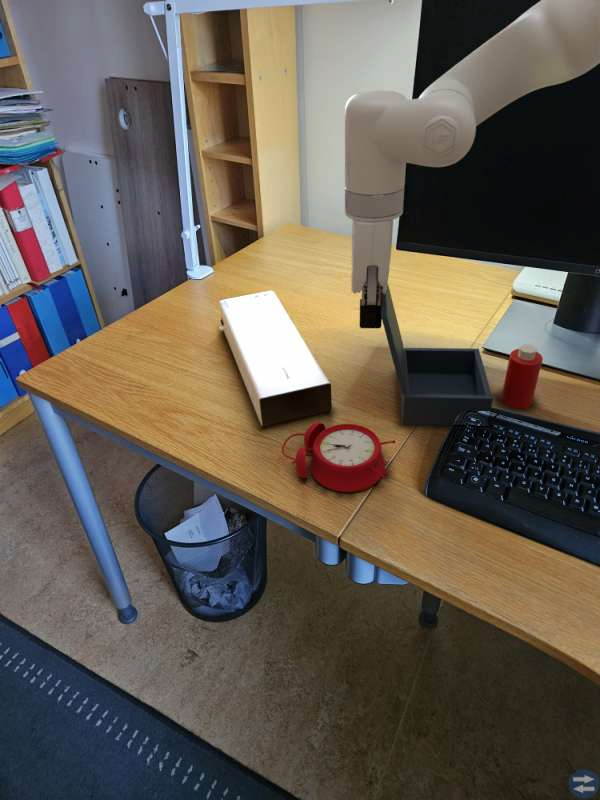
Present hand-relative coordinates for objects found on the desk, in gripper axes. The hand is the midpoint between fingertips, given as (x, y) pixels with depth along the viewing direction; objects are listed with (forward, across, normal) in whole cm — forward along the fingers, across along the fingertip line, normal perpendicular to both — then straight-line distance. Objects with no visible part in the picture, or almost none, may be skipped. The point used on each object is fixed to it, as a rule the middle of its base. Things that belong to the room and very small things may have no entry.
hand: (370, 325), depth 83 cm
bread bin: (+13, 0, +12) cm, 18 cm away
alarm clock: (+14, +16, -4) cm, 21 cm away
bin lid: (+1, 0, +4) cm, 4 cm away
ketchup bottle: (+13, 0, +23) cm, 27 cm away
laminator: (+14, -8, -18) cm, 24 cm away
